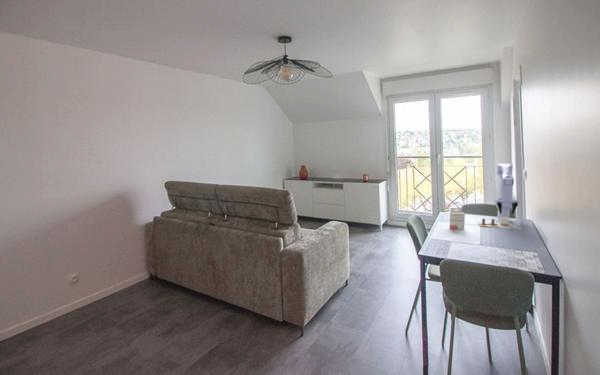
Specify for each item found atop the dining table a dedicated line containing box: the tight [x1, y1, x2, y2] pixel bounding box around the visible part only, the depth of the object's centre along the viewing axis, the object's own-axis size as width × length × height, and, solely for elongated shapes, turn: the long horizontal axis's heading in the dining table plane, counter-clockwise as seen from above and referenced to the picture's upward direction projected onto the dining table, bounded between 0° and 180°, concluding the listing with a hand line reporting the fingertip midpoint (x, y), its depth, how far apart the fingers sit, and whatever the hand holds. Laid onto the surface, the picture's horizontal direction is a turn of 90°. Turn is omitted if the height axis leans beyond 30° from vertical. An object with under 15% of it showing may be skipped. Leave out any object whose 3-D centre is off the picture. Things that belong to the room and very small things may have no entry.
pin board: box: [477, 218, 500, 228], centre depth 236 cm, size 10×12×5 cm
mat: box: [495, 222, 513, 227], centre depth 236 cm, size 9×9×1 cm
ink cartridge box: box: [449, 207, 466, 230], centre depth 231 cm, size 9×5×15 cm, turn 84°
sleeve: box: [499, 217, 510, 227], centre depth 236 cm, size 5×6×5 cm
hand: (506, 213), depth 233 cm, fingers open, 7 cm apart
